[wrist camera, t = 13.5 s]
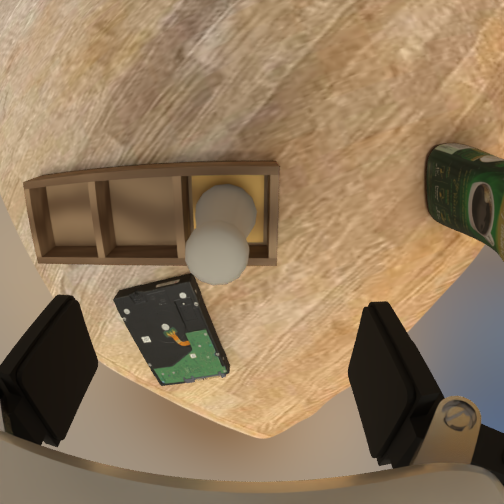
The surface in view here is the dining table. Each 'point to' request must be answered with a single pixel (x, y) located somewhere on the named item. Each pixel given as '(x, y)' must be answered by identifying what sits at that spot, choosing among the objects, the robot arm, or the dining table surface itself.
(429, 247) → the dining table surface
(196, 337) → the disk drive
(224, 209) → the salt shaker
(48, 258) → the wooden compartment tray
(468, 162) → the coffee jar
